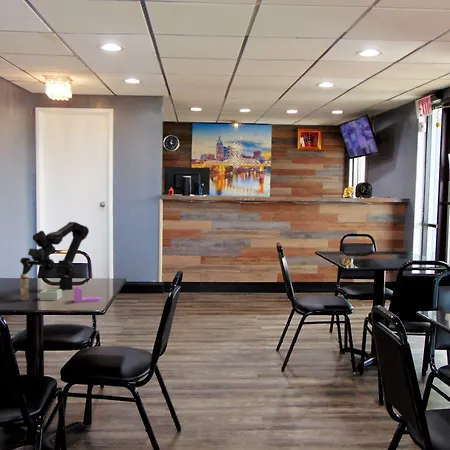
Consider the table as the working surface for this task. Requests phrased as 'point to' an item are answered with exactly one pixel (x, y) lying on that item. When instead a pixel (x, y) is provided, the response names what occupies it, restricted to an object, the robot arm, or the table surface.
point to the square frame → (51, 294)
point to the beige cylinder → (24, 287)
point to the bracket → (79, 297)
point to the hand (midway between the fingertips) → (30, 276)
